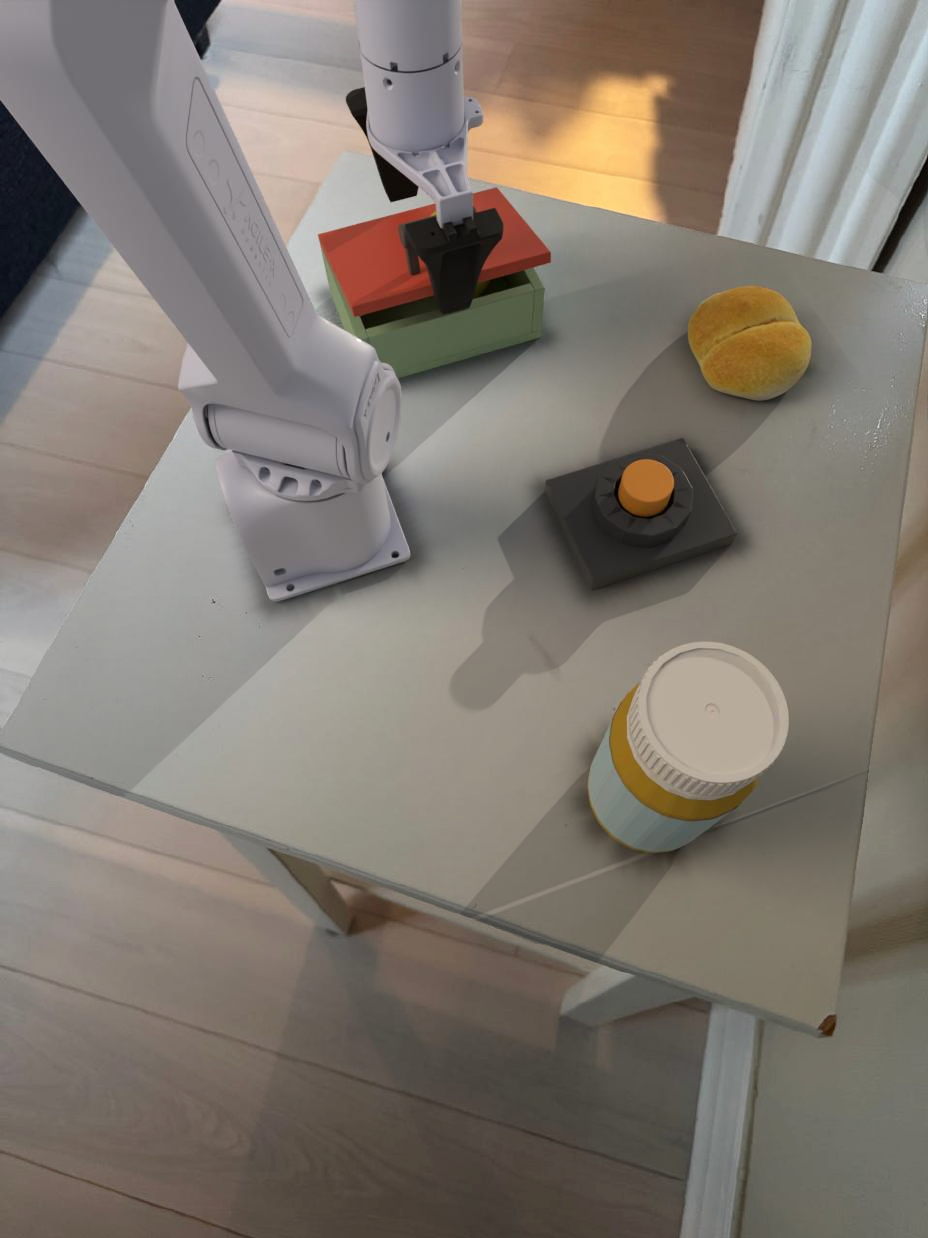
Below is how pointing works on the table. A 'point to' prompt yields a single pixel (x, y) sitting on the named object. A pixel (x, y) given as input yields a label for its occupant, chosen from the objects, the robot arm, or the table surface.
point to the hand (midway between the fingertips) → (427, 248)
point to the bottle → (686, 746)
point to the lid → (392, 270)
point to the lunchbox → (448, 323)
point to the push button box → (637, 517)
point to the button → (645, 487)
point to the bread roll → (749, 343)
